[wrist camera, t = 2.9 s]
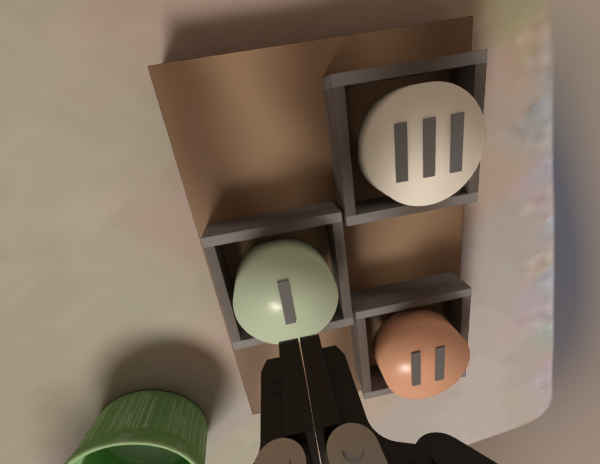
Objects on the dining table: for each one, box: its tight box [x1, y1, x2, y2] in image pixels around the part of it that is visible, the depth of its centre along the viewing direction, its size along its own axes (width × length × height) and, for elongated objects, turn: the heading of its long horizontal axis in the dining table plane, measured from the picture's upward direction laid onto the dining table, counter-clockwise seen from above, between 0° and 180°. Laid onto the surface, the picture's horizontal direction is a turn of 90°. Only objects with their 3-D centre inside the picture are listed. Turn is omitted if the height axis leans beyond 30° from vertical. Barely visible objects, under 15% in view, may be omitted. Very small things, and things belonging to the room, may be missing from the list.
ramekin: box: [65, 390, 207, 464], centre depth 22 cm, size 9×9×4 cm
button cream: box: [356, 81, 486, 206], centre depth 14 cm, size 5×5×2 cm
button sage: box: [233, 237, 338, 344], centre depth 16 cm, size 5×5×2 cm
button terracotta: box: [372, 307, 470, 399], centre depth 18 cm, size 5×5×2 cm
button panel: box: [148, 16, 488, 415], centre depth 18 cm, size 15×22×4 cm
